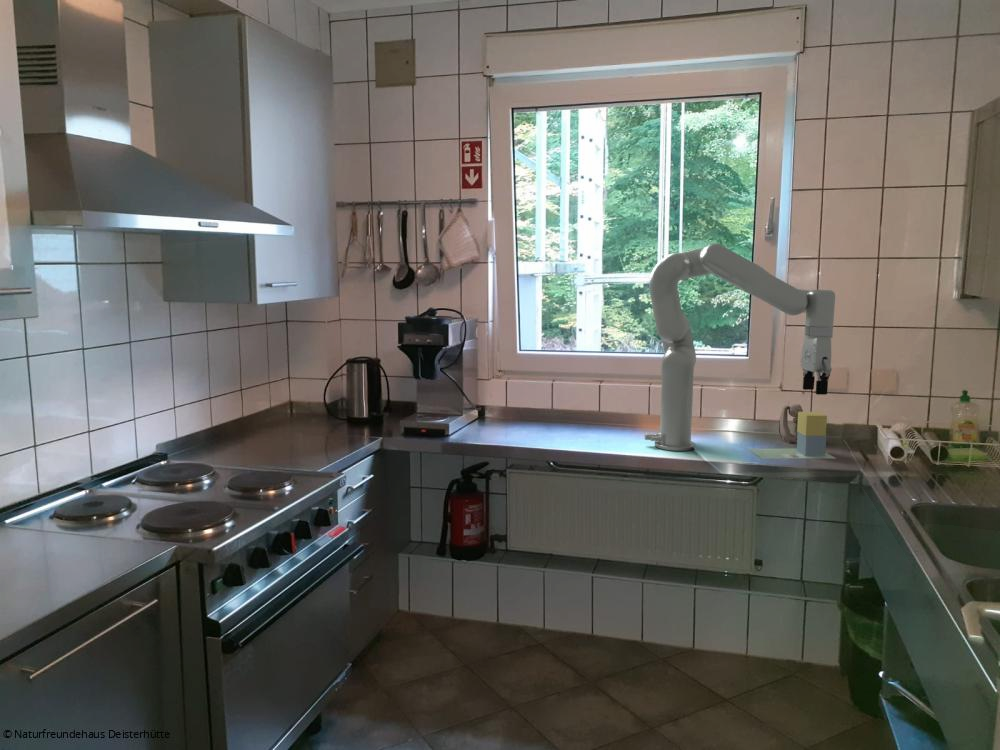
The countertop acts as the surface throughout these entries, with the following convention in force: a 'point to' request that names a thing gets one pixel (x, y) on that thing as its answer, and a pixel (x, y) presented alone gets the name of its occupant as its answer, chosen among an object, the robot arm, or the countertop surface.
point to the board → (785, 454)
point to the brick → (812, 423)
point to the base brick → (811, 445)
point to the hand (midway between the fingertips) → (814, 391)
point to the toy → (783, 422)
